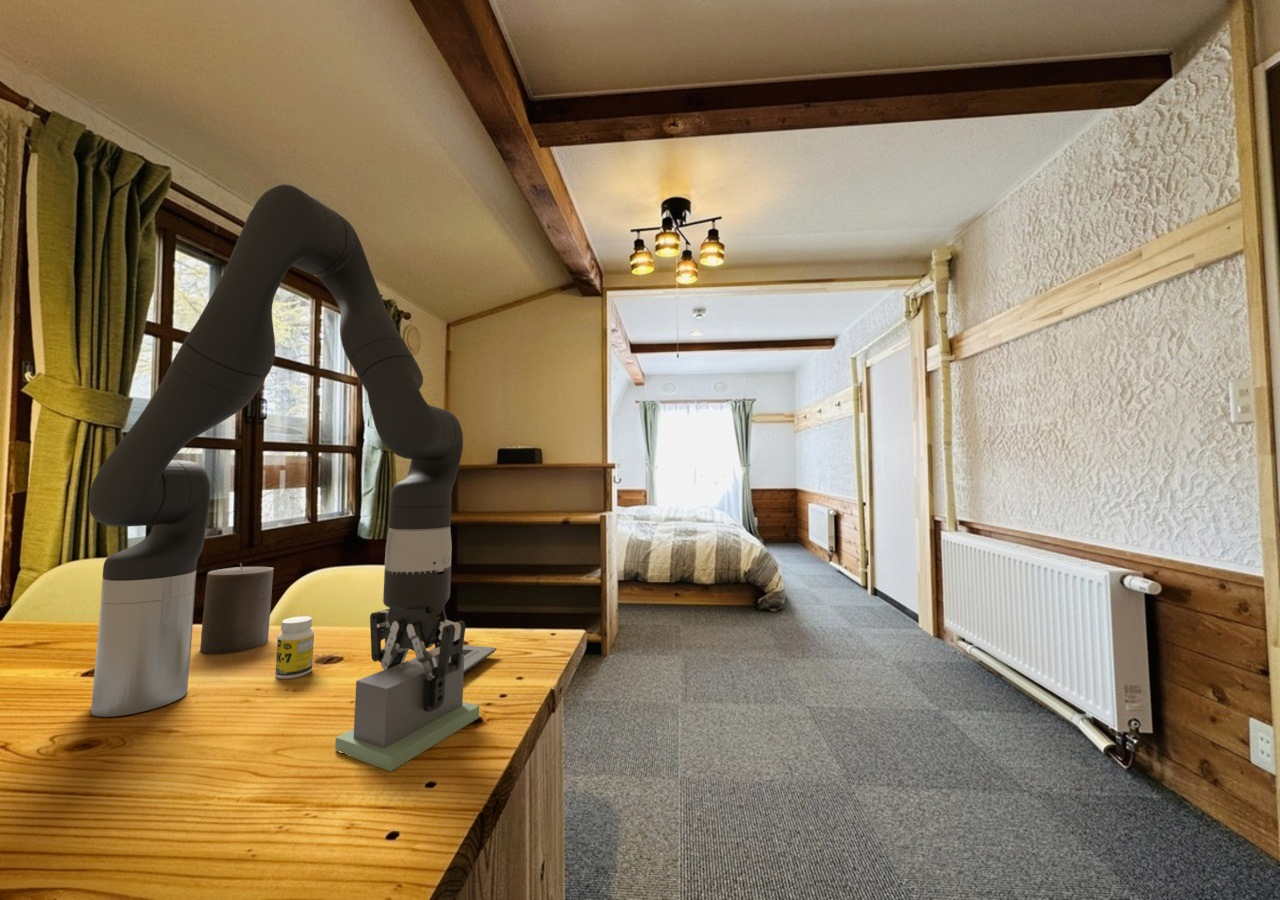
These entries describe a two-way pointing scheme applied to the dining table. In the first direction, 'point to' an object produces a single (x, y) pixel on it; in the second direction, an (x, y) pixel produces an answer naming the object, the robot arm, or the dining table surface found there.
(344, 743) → the header board
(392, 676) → the block
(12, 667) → the dining table surface
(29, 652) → the dining table surface
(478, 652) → the electrical outlet
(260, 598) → the pillar candle
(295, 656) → the supplement bottle
